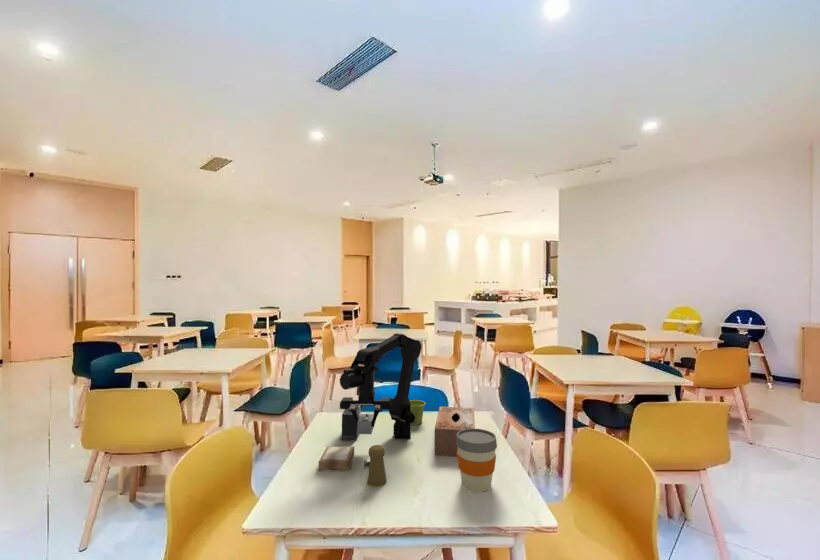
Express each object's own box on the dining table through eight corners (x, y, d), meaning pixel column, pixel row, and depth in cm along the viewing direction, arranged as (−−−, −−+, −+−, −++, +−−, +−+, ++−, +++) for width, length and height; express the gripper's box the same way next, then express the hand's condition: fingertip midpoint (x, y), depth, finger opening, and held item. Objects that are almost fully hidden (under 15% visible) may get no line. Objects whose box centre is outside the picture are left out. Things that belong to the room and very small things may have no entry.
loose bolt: (380, 462, 135) (380, 456, 135) (381, 465, 133) (381, 459, 133) (363, 465, 133) (363, 458, 133) (365, 468, 131) (365, 461, 131)
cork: (371, 488, 118) (371, 452, 118) (364, 479, 123) (364, 444, 123) (389, 483, 121) (389, 448, 121) (381, 475, 126) (381, 441, 126)
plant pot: (403, 425, 171) (403, 405, 171) (406, 418, 180) (406, 399, 180) (424, 426, 169) (424, 406, 169) (426, 419, 179) (426, 400, 179)
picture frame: (354, 454, 141) (354, 445, 141) (348, 470, 129) (348, 460, 129) (326, 454, 141) (326, 445, 141) (318, 470, 129) (318, 460, 129)
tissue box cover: (474, 458, 139) (474, 430, 139) (434, 456, 141) (434, 428, 141) (473, 431, 164) (473, 408, 164) (439, 429, 166) (439, 406, 166)
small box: (357, 441, 154) (357, 414, 154) (340, 440, 154) (341, 414, 154) (361, 431, 164) (361, 406, 164) (345, 430, 164) (346, 406, 164)
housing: (374, 426, 148) (374, 412, 148) (371, 434, 140) (371, 419, 140) (361, 425, 148) (361, 412, 148) (357, 433, 140) (357, 419, 140)
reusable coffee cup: (467, 470, 129) (467, 425, 129) (503, 481, 122) (503, 433, 122) (448, 486, 119) (448, 437, 119) (486, 499, 112) (486, 447, 112)
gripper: (392, 379, 152) (392, 419, 152) (345, 378, 152) (344, 418, 152) (390, 386, 141) (390, 429, 141) (339, 386, 141) (339, 429, 141)
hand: (366, 426), depth 144 cm, fingers closed on housing, 5 cm apart
